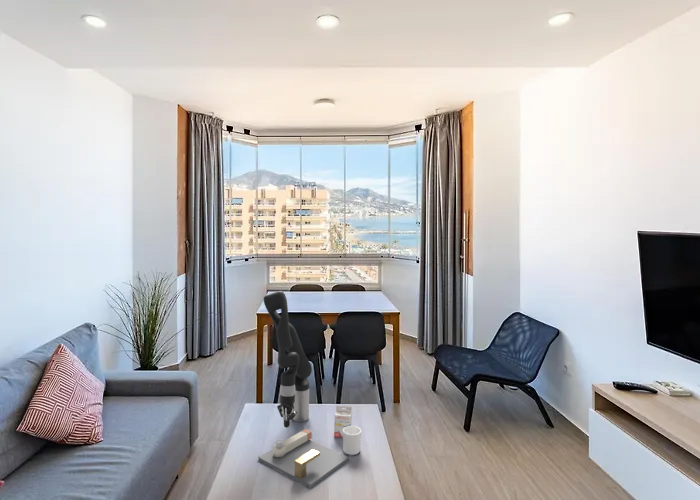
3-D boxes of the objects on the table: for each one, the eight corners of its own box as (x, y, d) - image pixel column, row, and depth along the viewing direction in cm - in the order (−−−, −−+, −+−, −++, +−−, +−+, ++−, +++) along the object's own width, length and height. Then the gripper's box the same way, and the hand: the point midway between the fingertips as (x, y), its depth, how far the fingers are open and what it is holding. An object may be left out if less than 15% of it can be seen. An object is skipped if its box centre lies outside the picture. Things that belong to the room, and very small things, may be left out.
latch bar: (278, 459, 185) (278, 447, 185) (270, 454, 188) (270, 442, 188) (312, 438, 203) (312, 428, 203) (304, 435, 207) (304, 424, 206)
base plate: (258, 460, 187) (258, 457, 187) (298, 437, 208) (298, 434, 208) (310, 488, 168) (310, 484, 168) (348, 460, 189) (348, 457, 188)
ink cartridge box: (333, 437, 209) (334, 409, 208) (335, 432, 214) (335, 405, 213) (350, 438, 208) (351, 410, 207) (351, 433, 213) (352, 406, 212)
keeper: (294, 478, 174) (294, 460, 173) (312, 466, 183) (313, 449, 183) (301, 482, 171) (301, 463, 171) (319, 469, 181) (319, 452, 180)
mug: (359, 457, 191) (359, 436, 191) (340, 455, 193) (341, 433, 192) (363, 445, 202) (363, 425, 201) (345, 443, 204) (345, 423, 203)
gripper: (273, 391, 205) (272, 425, 206) (290, 398, 196) (289, 434, 197) (284, 387, 211) (283, 420, 211) (302, 394, 202) (301, 428, 203)
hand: (286, 426), depth 204 cm, fingers closed
